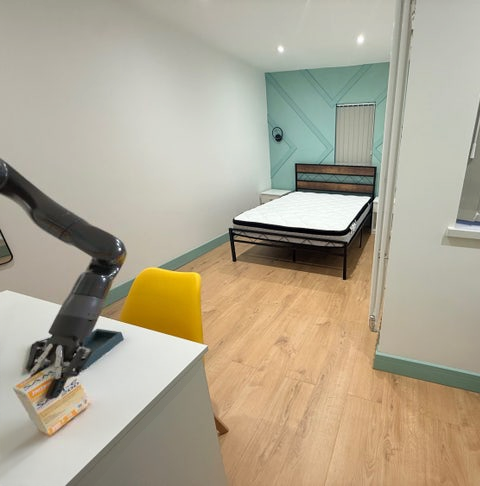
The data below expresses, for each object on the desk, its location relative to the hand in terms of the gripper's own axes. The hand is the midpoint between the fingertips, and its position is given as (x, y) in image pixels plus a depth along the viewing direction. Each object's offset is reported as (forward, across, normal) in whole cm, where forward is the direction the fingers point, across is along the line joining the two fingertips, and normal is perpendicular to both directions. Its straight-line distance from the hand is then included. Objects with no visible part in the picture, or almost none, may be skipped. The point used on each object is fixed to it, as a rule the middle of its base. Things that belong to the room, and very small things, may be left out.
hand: (40, 395), depth 56 cm
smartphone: (-5, -28, +19) cm, 35 cm away
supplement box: (+5, 0, +8) cm, 10 cm away
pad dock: (-7, -15, +21) cm, 27 cm away
